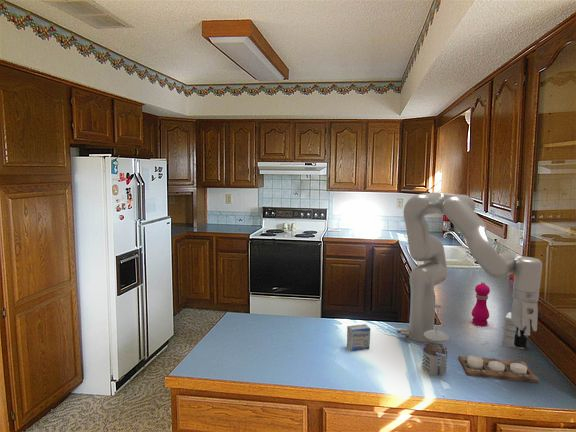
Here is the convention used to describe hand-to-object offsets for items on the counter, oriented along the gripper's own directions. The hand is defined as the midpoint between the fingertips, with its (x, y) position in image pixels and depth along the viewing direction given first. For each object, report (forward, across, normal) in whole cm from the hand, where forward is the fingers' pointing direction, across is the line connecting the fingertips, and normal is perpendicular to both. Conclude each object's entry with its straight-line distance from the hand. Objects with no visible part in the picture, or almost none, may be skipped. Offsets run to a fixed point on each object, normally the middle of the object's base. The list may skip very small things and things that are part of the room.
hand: (519, 346), depth 137 cm
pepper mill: (+11, +46, 0) cm, 47 cm away
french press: (+11, -5, +28) cm, 30 cm away
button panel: (+11, 0, +7) cm, 13 cm away
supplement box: (+11, +24, -7) cm, 27 cm away
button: (+10, 0, +7) cm, 12 cm away
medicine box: (+12, +10, +54) cm, 56 cm away
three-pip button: (+9, 0, +14) cm, 17 cm away
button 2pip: (+10, 0, 0) cm, 10 cm away
